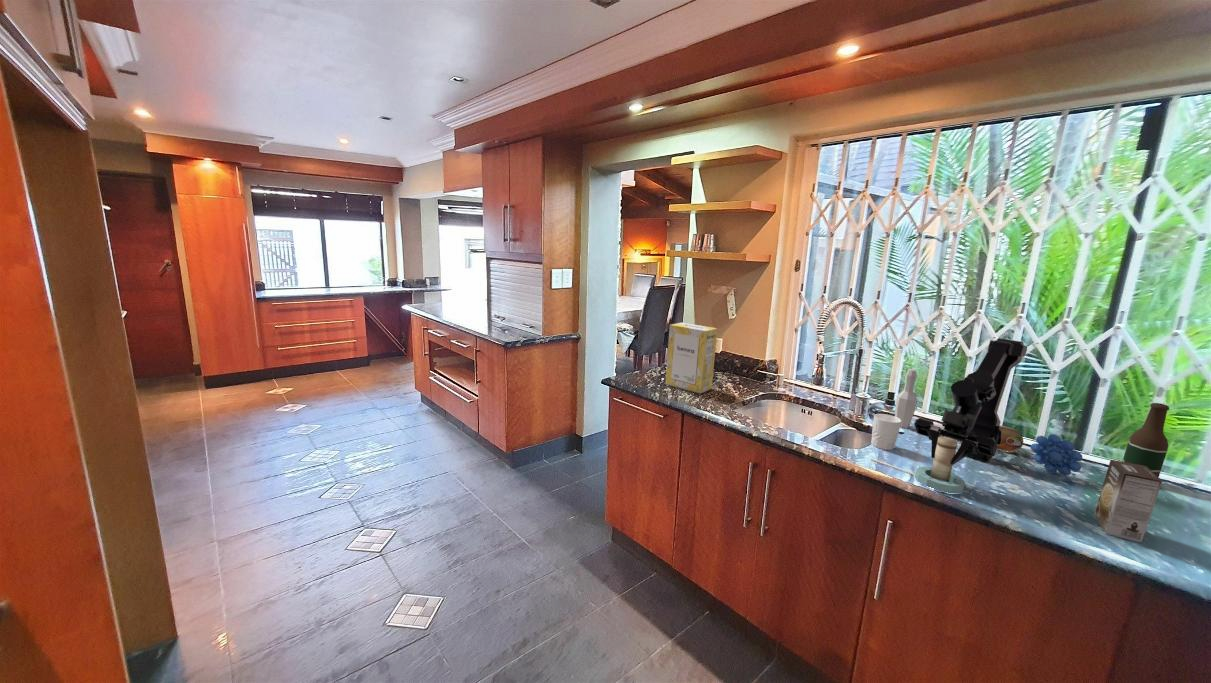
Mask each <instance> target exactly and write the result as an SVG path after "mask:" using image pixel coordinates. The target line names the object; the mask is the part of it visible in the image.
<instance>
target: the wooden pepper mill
mask: <svg viewBox="0 0 1211 683" xmlns="http://www.w3.org/2000/svg"><path fill="white" fill-rule="evenodd" d="M958 442H959V441H958V440H955V439H952V438H949V437H945V436H941V437H938V440H937V446H936V451H935V455H934V458H933V459H932V460H933V461H932V466H931V467H932V470H931V475H930V477H931V478H934V479H937V480H939V481H944V482H949V480H950V475H951V472H952V470H953V466H954V465H951V462H952V459H953V457H954V456H955V454H956V452H957V447H958Z"/></svg>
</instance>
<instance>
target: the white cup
mask: <svg viewBox="0 0 1211 683" xmlns="http://www.w3.org/2000/svg"><path fill="white" fill-rule="evenodd" d="M872 420H873V421H872V428H871V429H872V430H871V441H870V443H871V445H872V446H873V447H875V448H877V449H880V450H885V451H893V450H894V449H895V446H896V443H897V439H898V438H899V437H898V436H899V433H900V432H899V431H900V428H901V427H900V425H901V419H899V418H897V417H895V415H892V414H886V413H875V414H874V415H873V419H872Z"/></svg>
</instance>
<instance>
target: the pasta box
mask: <svg viewBox="0 0 1211 683" xmlns="http://www.w3.org/2000/svg"><path fill="white" fill-rule="evenodd" d="M668 331H669V332H668V342H667V345H668V346H667V355H666V357H667V358H666V359H667V360H666V368H665V369H666V370H665V385H667V386H671V387H673V388H678V389H681V390H686V391H689V392H692V393H696V394H700V395H701V394H702V393H705V392H707V391H709V390H712V388H713V387H712V386H713V379H714V377H713V376H714V367H715V359H716V358H715V356H716V349H717V348H716V347H717V337H718V328H717V327H712V326H705V325H699V324H693V323H687V322H677V323H672V324H669V330H668Z"/></svg>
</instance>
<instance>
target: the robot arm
mask: <svg viewBox="0 0 1211 683" xmlns="http://www.w3.org/2000/svg"><path fill="white" fill-rule="evenodd" d="M1027 351H1028V346H1027V345H1024V342H1023V341H1019V340H1013V339H1008V338H1000V337H999V338H997V339H994V340H989V343H988V348H987V352H986V354H985V355H984V358H982V361H981V363H980V364H979V366H978V368H977V369H976V370H975V371H974V372H971V373H968V374H967V375H966V376H965V377H964V379H962V380H957V381H955V382H953V383H952V384H951V386H950V392H951V396H952V400H953V403H954V407H953V409H952V410H951V411H950V410H944V412H943V415H942V418H941V422H942V424H941V426H942V427H943V428H942V427H940V426H938V425H935V424H934V421H933V420H930V419H926V418H923V417H919V418H916V419H915V421H914V422H913V425H914V428H915V431H916V433H917V434H918V435H921V436H924V437H927V438H928V440H930V441H931V453H930V458H931V459H934V455H935V451H936V446H937V440H938V437H948V438H952V439H954V440H956V441H957V442H961V443H960V445H959V448H958V449H957V450H956V452H955V456H954V457H953V459H952V462H951V465H953V466H954V465H956V463H958V462H960V461H962V459H964V458H967V457H969V458H972V459H975V460H978V461H981V462H985V463H989V462H990V460H992V458H993V457H995V455H996V453H997V451H998V450H997V445H996V444H999V445H1000V444H1001V440H1002V432H1001V427H1000V425H1001V420H1000V416H999V415H998V410H999V406H1000V405H1001V400H1002V398H1003V396H1004V392H1005V389H1006V386H1007V383H1008V379H1009V376H1010V374H1011V371H1012V369H1013V368H1014V367H1016V366H1017V365H1019V364H1020V363H1021V362H1022V359H1023V358H1024V357H1025V356H1026V354H1027ZM980 401H981V402H980ZM993 437H994V438H993Z"/></svg>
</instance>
